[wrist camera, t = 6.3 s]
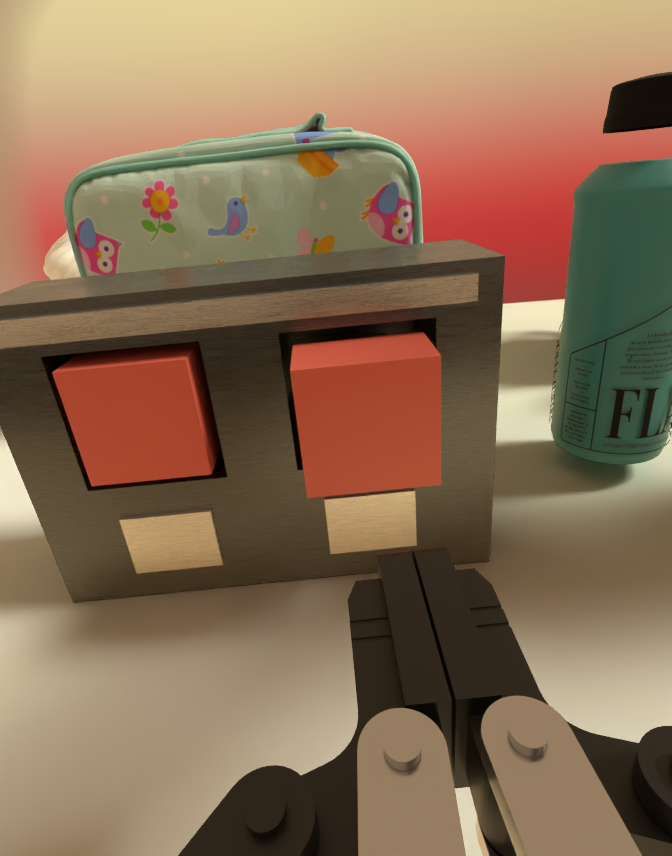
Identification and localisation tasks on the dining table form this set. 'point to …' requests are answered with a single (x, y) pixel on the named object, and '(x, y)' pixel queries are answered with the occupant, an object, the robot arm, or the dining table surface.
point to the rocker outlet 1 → (140, 413)
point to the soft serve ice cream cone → (61, 260)
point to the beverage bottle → (620, 297)
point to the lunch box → (244, 200)
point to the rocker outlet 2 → (368, 413)
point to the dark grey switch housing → (254, 416)
